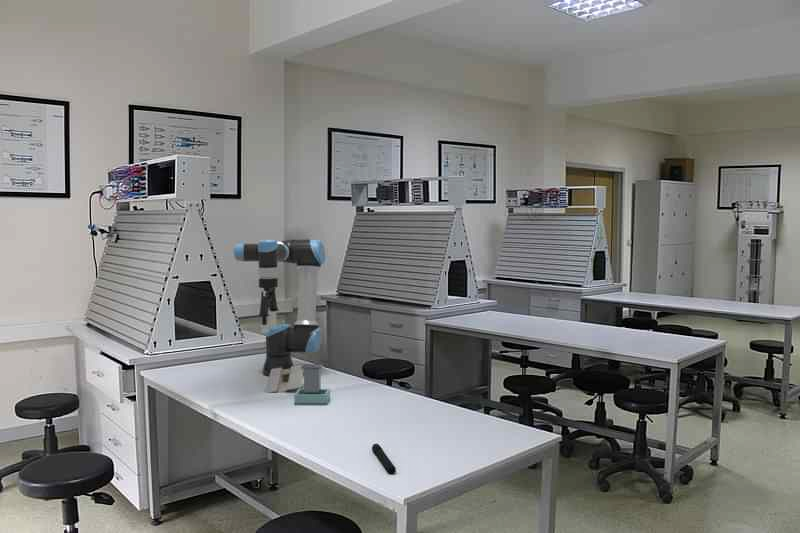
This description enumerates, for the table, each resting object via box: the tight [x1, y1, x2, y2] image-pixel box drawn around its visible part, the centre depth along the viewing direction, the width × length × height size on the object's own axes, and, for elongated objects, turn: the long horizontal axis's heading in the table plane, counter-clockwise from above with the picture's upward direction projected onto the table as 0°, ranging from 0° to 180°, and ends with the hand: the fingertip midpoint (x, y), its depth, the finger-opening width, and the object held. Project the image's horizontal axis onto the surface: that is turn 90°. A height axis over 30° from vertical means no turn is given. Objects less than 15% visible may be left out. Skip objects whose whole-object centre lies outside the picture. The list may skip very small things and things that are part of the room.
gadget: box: [371, 443, 397, 475], centre depth 185 cm, size 2×2×20 cm
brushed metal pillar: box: [301, 363, 324, 394], centre depth 246 cm, size 4×8×14 cm, turn 89°
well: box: [293, 388, 331, 406], centre depth 247 cm, size 9×13×4 cm
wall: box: [264, 364, 304, 393], centre depth 268 cm, size 16×9×15 cm
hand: (269, 329), depth 249 cm, fingers open, 13 cm apart
